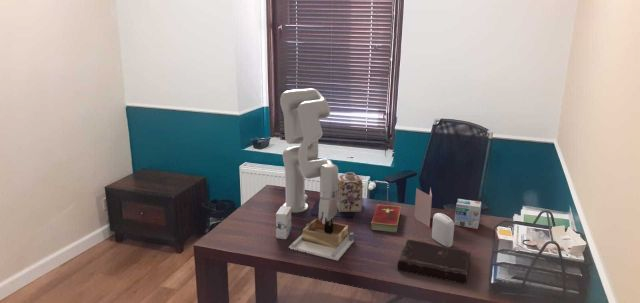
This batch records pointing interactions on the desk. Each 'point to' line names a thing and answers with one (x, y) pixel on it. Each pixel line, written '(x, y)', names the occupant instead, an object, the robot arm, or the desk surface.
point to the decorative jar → (350, 193)
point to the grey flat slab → (322, 247)
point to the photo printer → (443, 229)
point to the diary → (434, 261)
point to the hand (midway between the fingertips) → (328, 232)
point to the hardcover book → (386, 218)
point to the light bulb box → (467, 213)
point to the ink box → (283, 222)
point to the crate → (325, 234)
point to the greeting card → (423, 207)
